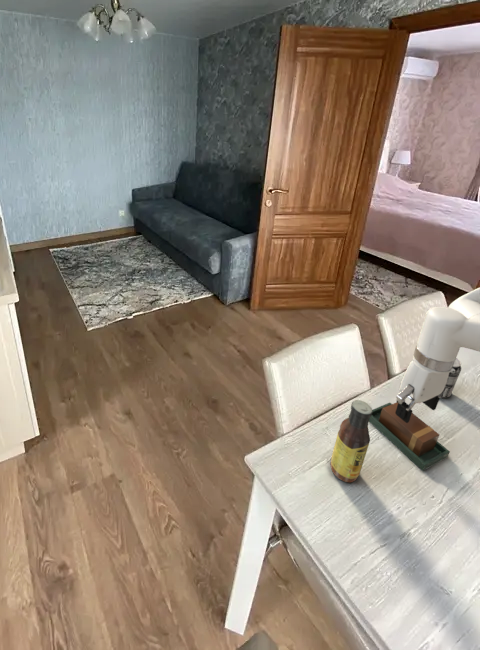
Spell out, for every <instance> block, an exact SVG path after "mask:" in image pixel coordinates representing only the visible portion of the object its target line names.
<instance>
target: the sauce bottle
mask: <svg viewBox="0 0 480 650" xmlns="http://www.w3.org/2000/svg"><path fill="white" fill-rule="evenodd" d="M350 405H351V406H350V413H349V415H348V417H347V418H345V419H344V420H342V421H341V423H340V425H339V430H338V432H337V435H336V438H335V441H334V442H335V444H334V447H333V450H332V453H331V458H330V468H331V472H332V473H333V475H334V476H335V477H336V478H337V479H339V480H340V481H342V482H345V483H353V482H355V481H356V480H357V479H358V478H359V476H360V474H361V470H362V468H363V464H364V461H365V458H366V455H367V452H368V448H369V445H370V442H371V438H370V437H371V436H370V431H369V423H370V422H369V418H370V417H371V416H372V410H373V408H372V406H371V405H370V404H369V403H368V402H366V401H364V400H361V399H354V400H353V401H352V402H351V404H350Z"/></svg>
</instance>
